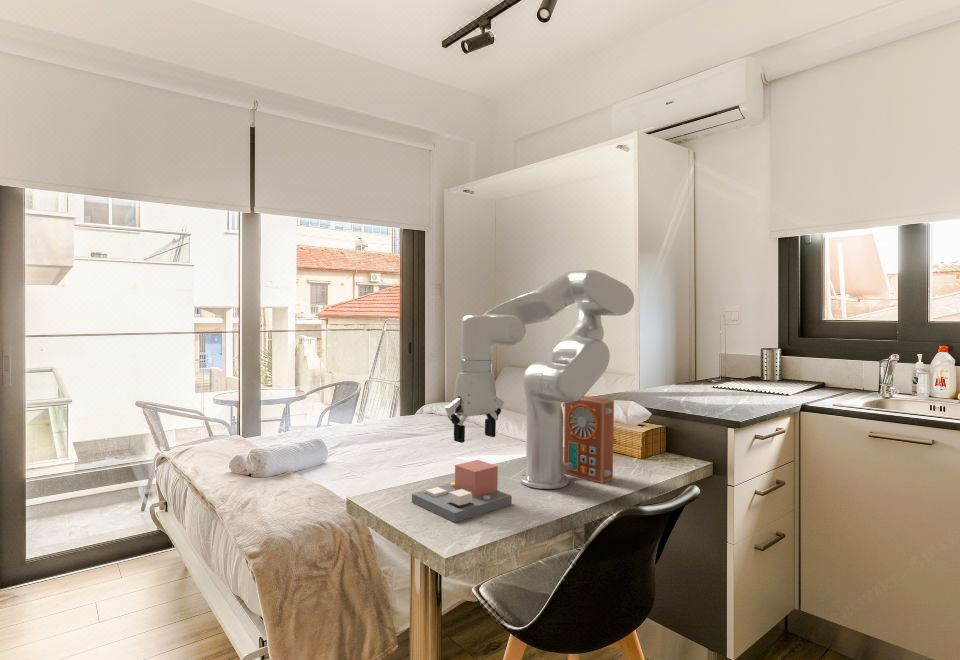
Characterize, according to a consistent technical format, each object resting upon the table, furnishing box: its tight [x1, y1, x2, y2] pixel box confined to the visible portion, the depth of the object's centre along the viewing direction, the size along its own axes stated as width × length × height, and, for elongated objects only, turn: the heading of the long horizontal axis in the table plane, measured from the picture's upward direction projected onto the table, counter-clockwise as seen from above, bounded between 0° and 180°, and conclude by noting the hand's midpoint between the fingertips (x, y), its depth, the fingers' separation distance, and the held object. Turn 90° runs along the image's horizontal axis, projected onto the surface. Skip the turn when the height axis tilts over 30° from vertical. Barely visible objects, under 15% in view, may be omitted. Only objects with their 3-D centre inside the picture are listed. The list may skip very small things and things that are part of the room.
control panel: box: [562, 395, 615, 484], centre depth 148 cm, size 21×7×15 cm
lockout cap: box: [454, 459, 499, 498], centre depth 130 cm, size 7×7×6 cm
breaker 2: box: [449, 489, 472, 506], centre depth 121 cm, size 4×4×2 cm
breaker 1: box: [425, 486, 447, 498], centre depth 128 cm, size 4×4×2 cm
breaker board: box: [411, 482, 513, 523], centre depth 127 cm, size 17×16×3 cm
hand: (475, 438), depth 130 cm, fingers open, 9 cm apart
